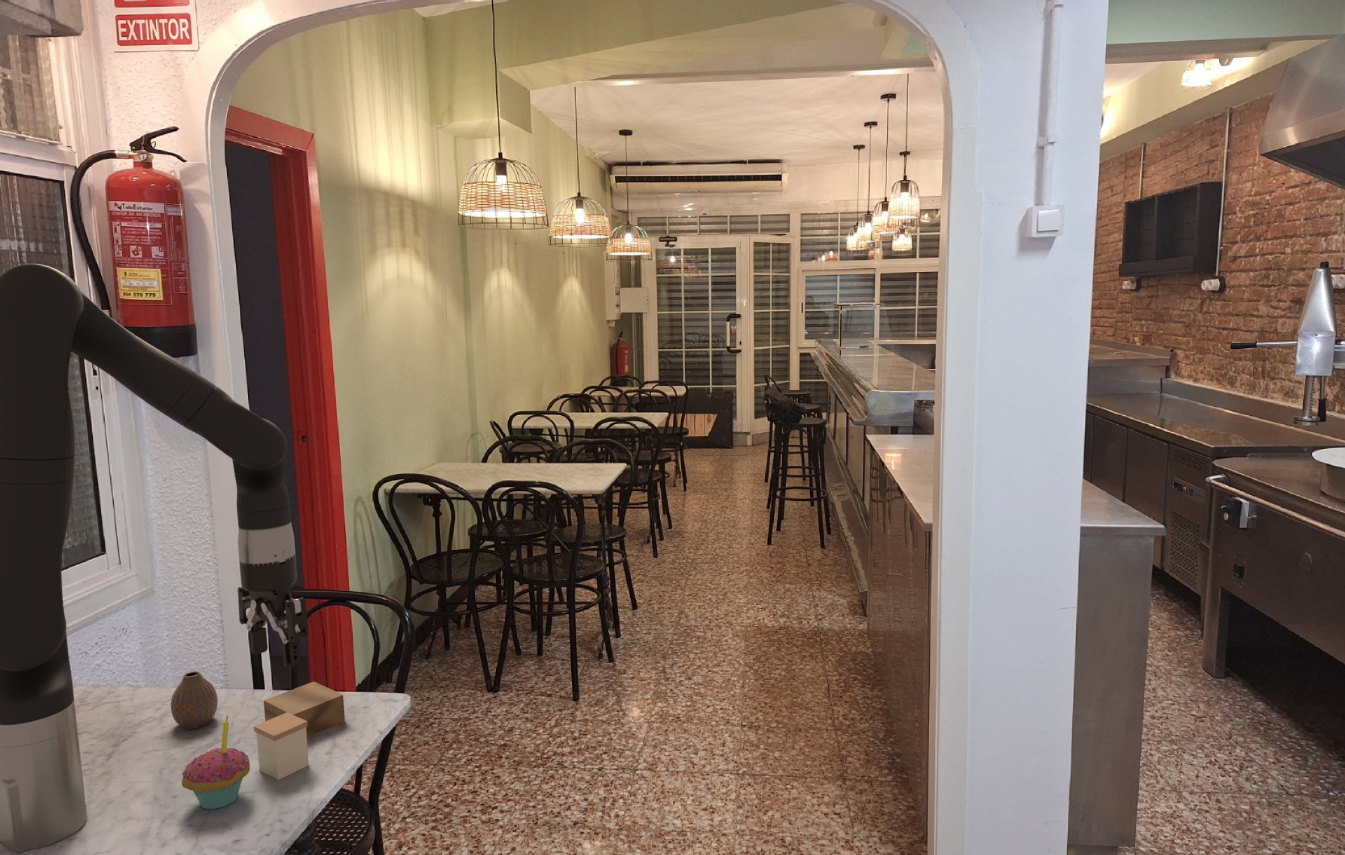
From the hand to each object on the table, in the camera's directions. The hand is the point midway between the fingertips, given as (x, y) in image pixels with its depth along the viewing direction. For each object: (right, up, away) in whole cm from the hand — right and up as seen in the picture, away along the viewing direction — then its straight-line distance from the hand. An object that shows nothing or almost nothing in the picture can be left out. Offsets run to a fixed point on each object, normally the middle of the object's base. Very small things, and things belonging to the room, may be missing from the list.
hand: (275, 659), depth 129 cm
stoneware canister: (0, -17, +2) cm, 17 cm away
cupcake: (-5, -19, -6) cm, 20 cm away
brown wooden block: (-2, -16, +16) cm, 22 cm away
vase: (-21, -16, +17) cm, 31 cm away
